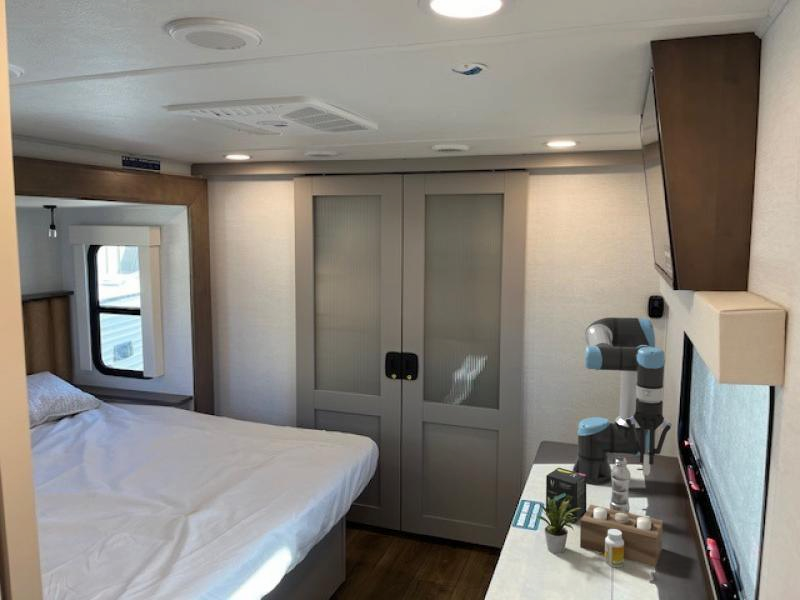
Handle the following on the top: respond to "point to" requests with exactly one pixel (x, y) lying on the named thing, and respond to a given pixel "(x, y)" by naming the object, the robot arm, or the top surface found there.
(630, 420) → the robot arm
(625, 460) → the plastic bottle
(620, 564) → the supplement bottle
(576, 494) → the tampon box
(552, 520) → the house plant
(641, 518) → the knob
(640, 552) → the wooden holder rack
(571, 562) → the top surface
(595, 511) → the knob
